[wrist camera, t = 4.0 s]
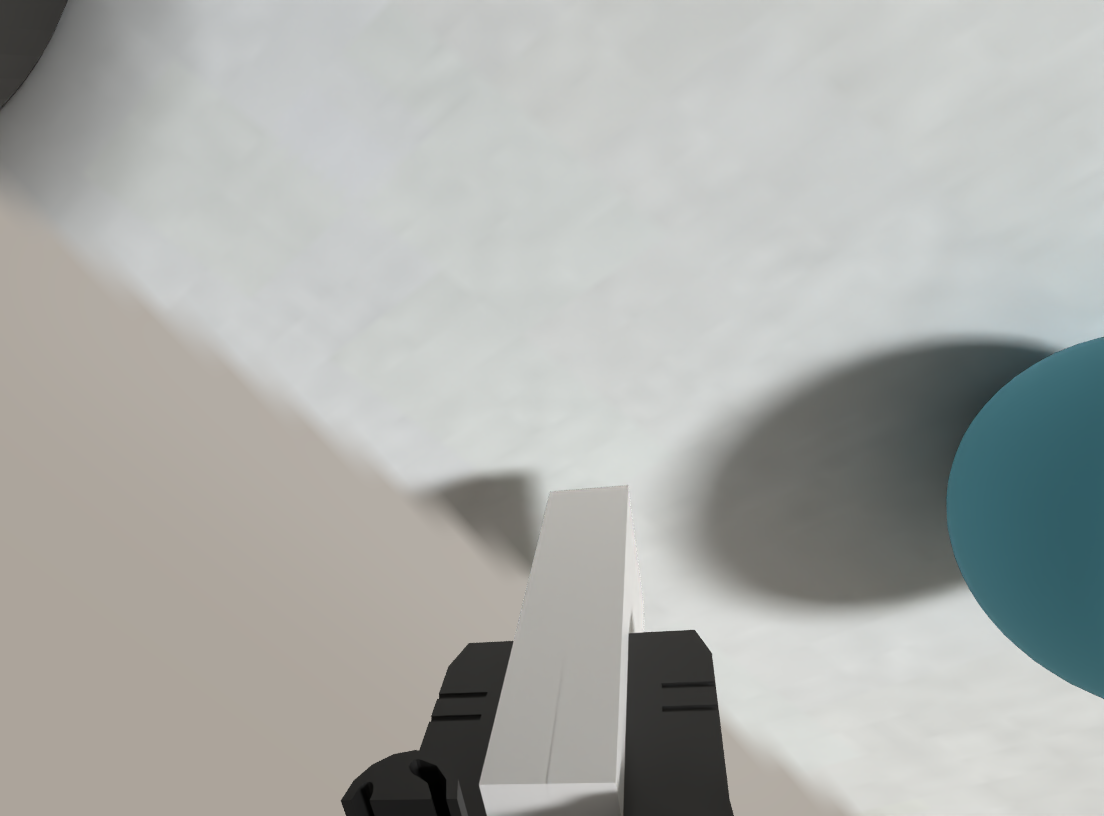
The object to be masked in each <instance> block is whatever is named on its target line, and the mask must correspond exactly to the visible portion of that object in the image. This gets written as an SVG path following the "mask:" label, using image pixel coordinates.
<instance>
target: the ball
mask: <svg viewBox="0 0 1104 816" xmlns="http://www.w3.org/2000/svg"><path fill="white" fill-rule="evenodd" d="M946 504H947V526H948V532H949V536H950V540H951V545H952V548H953V552H954V556H955V559H956V561H957V564H958V566H959V569H960V571H961V573H962V576H963V578H964V580H965V581H966V583H967V585H968V587H969V589H970V591H971V592H972V594H973V596H974V597H975V599H976V600H977V602H978V604H979V605H980V607H981V608H982V609H983V610H984V612H985V613H986V614H987V615H988V617H989V618H990V619H991V620H992V622H993V623H994V624H995V625H996V626H997V627H998V628H999V629H1000V631H1001V632H1002V633H1003V634H1004V635H1005V636H1006V637H1007V638H1008V639H1010V640H1011V641H1012V642H1013V643H1014V644H1015V645H1016V646H1017V647H1018V648H1019V649H1021V650H1022V651H1023V652H1024V653H1026V654H1027V655H1028V656H1029V657H1030V658H1032V659H1033V660H1034V661H1035V662H1037V663H1038V664H1040V665H1041V666H1043V667H1045V668H1046V669H1048V670H1049V671H1051V672H1052V673H1054V674H1055V675H1057V676H1059V677H1060V678H1062V679H1064V680H1065V681H1067V682H1068V683H1070V684H1072V685H1074V686H1077V687H1079V688H1081V689H1083V690H1085V691H1087V692H1090V693H1092V694H1094V695H1096V696H1098V697H1101V698H1103V699H1104V337H1101V338H1097V339H1094V340H1090V341H1087V342H1083V343H1080V344H1077V345H1074V346H1072V347H1069V348H1067V349H1064V350H1062V351H1059V352H1057V353H1054V354H1052V355H1051V356H1049V357H1047V358H1045V359H1043V360H1041V361H1039V362H1037V363H1035V364H1034V365H1032V366H1031V367H1029V368H1028V369H1026V370H1025V371H1023V372H1022V373H1020V374H1019V375H1017V376H1016V377H1014V378H1013V379H1012V380H1011V381H1010V382H1008V383H1007V384H1006V385H1005V386H1004V387H1002V388H1001V389H1000V390H999V391H998V392H997V393H996V394H995V395H994V396H993V397H992V398H991V399H990V400H989V401H988V402H987V403H986V404H985V405H984V407H983V408H982V409H981V410H980V412H979V413H978V414H977V416H976V417H975V418H974V419H973V421H972V422H971V424H970V426H969V428H968V429H967V431H966V433H965V434H964V436H963V438H962V440H961V442H960V445H959V447H958V450H957V452H956V454H955V457H954V461H953V464H952V468H951V472H950V475H949V479H948V487H947V496H946Z"/></svg>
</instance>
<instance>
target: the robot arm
mask: <svg viewBox="0 0 1104 816" xmlns="http://www.w3.org/2000/svg"><path fill="white" fill-rule="evenodd" d="M66 3H67V0H0V108H1V107H2V106H3V105H4V104H5V103H6V102H7V101H8V100H9V99H10V97H11V96H12V95H13V94H14V93H15V91H16V90H17V89H18V88H19V87H20V85H21V84H22V83H23V82H24V80H25V79H26V78H27V76H28V75H29V73H30V72H31V70H32V69H33V67H34V66H35V64H36V63H37V61H38V60H39V58H40V57H41V55H42V53H43V51H44V49H45V48H46V46H47V44H48V42H49V40H50V38H51V36H52V35H53V33H54V31H55V28H56V26H57V24H58V21H59V19H60V17H61V15H62V12H63V10H64V8H65V5H66ZM431 717H432V720H431V722H429V724H428V727H427V730H426V733H425V736H424V739H423V742H422V745H421V747H420V750H419V751H417V750H414V751H409V752H403V753H398V754H393V755H391V756H389V757H387V758H385V759H383V760H381V761H379V762H377V763H375V764H373V765H371V766H370V767H369V768H368V769H367V770H365V771H364V772H363V773H362V774H361V775H360V776H359V777H357V778H356V779H355V780H354V781H353V783H352V784H351V786H350V787H349V789H348V791H347V792H346V794H345V795H344V797H343V798H342V800H341V802H342V805H343V808H344V811H345V814H346V816H734V815H733V811H732V807H731V804H730V800H729V793H728V784H727V775H726V767H725V759H724V750H723V742H722V734H721V726H720V717H719V710H718V701H717V693H716V685H715V676H714V668H713V660H712V653H711V651H710V650H709V649H708V647H707V646H706V645H705V643H704V642H703V641H702V639H701V638H700V636H699V635H698V634H697V632H696V631H695V630H684V631H663V632H644V600H643V593H642V585H641V577H640V570H639V562H638V555H637V547H636V540H635V532H634V525H633V517H632V510H631V502H630V494H629V487H628V485H625V486H612V487H600V488H588V489H576V490H564V491H552V492H550V493H549V497H548V501H547V506H546V510H545V514H544V518H543V522H542V526H541V530H540V534H539V539H538V543H537V547H536V551H535V555H534V559H533V563H532V568H531V572H530V576H529V580H528V584H527V588H526V592H525V596H524V601H523V605H522V609H521V613H520V617H519V621H518V626H517V630H516V634H515V638H514V641H504V642H485V643H469V644H468V645H467V646H466V647H465V648H464V649H463V651H462V652H461V653H460V654H459V655H458V656H457V658H456V659H455V660H454V661H453V662H452V663H451V664H450V666H449V667H448V670H447V672H446V676H445V678H444V681H443V684H442V687H441V690H440V692H439V699H437V701H436V704H435V707H434V710H433V713H432V716H431Z"/></svg>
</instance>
